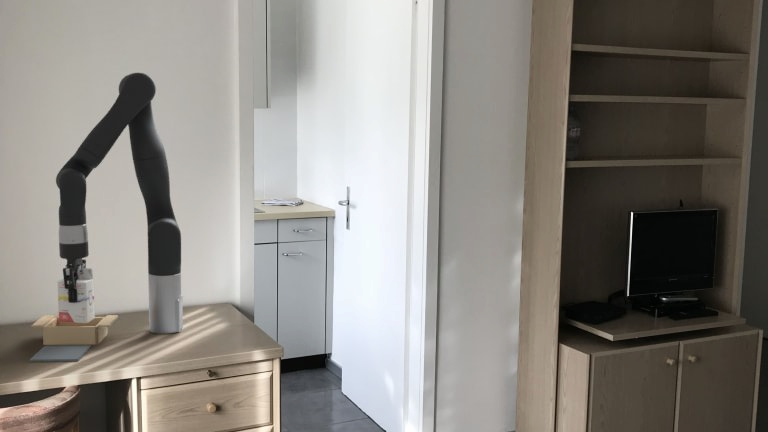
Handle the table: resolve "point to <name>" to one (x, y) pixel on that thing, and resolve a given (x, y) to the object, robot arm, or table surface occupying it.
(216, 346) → the table surface
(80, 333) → the carton
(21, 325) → the table surface
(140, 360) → the table surface
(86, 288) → the ink cartridge box
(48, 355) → the mat
